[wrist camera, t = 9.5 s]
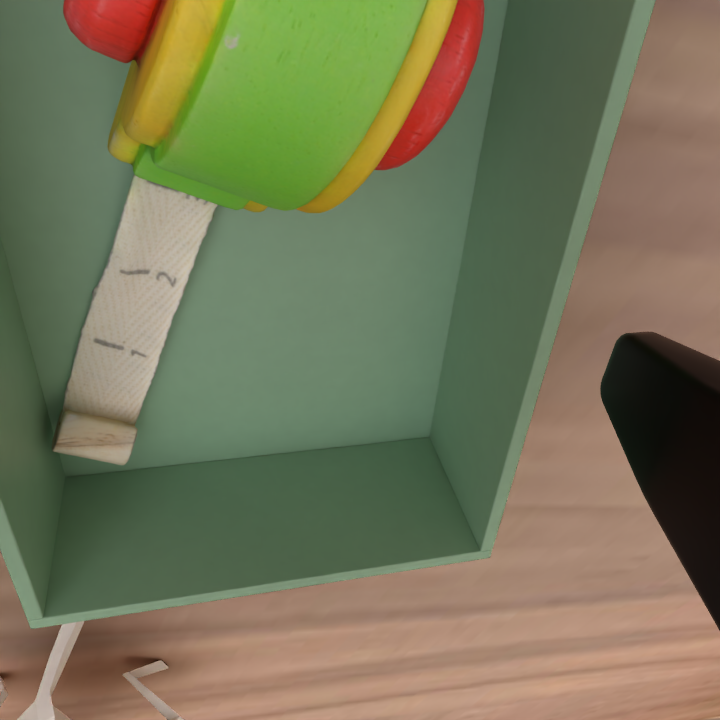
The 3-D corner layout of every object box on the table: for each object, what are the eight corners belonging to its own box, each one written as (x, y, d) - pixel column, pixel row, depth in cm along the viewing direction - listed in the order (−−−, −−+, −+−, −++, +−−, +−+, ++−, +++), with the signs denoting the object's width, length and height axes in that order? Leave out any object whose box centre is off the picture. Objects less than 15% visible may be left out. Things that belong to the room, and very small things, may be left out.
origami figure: (196, 702, 32) (201, 818, 28) (5, 741, 30) (-18, 870, 26) (162, 540, 25) (162, 668, 21) (-93, 579, 23) (-144, 726, 19)
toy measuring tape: (538, -265, 13) (783, -335, 8) (190, 452, 22) (198, 639, 17) (218, -549, 10) (273, -952, 5) (-32, 409, 19) (-104, 618, 14)
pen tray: (433, 434, 25) (490, 558, 20) (56, 475, 22) (30, 630, 17) (611, -519, 11) (875, -733, 7) (-283, -733, 9) (-721, -1297, 4)
